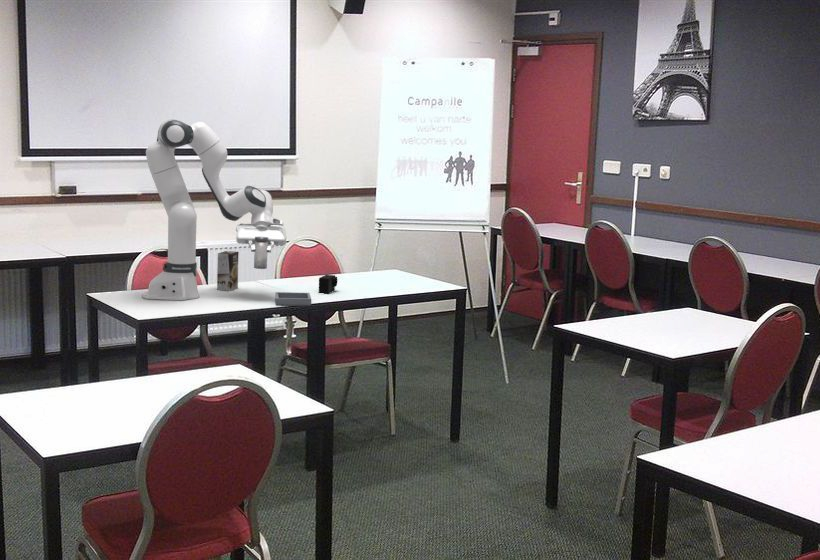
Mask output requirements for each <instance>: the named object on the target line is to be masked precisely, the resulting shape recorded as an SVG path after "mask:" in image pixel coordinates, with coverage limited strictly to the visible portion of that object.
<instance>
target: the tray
mask: <svg viewBox="0 0 820 560" xmlns="http://www.w3.org/2000/svg"><path fill="white" fill-rule="evenodd" d="M274 295H275V298H274V301H276V302H275V306H276V305H281V306H280V307H312V296H311V293H310V292H292V291H291V292H290V291H289V292H282V291H281V292H280V291H278V292H276V291H275V293H274Z"/></svg>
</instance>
